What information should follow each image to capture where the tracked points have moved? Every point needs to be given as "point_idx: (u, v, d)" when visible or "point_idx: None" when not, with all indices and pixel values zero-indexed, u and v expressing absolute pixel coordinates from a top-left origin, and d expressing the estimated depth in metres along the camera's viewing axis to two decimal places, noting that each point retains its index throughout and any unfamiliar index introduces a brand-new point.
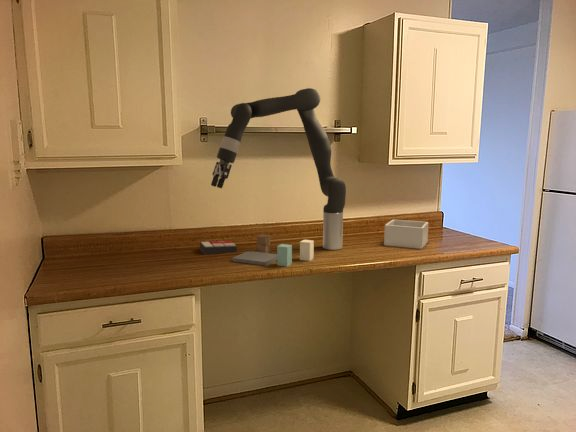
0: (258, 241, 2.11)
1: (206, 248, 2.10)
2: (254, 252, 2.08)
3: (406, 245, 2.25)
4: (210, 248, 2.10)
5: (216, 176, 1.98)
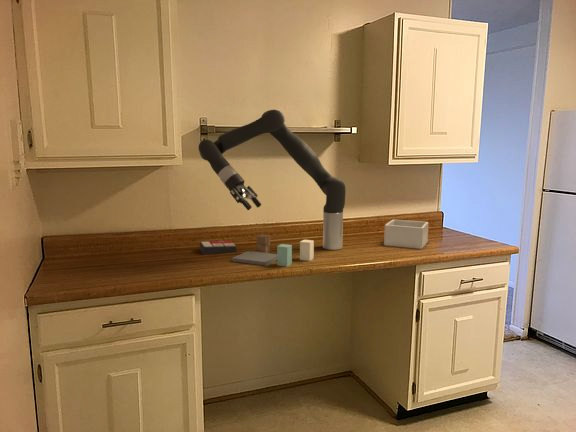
0: (258, 241, 2.11)
1: (205, 248, 2.10)
2: (254, 252, 2.08)
3: (406, 245, 2.25)
4: (209, 248, 2.10)
5: (253, 198, 2.00)
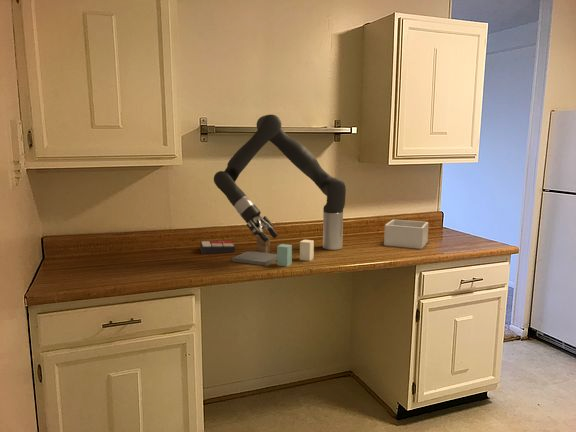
0: (258, 241, 2.11)
1: (204, 248, 2.10)
2: (254, 252, 2.08)
3: (406, 245, 2.25)
4: (208, 248, 2.11)
5: (269, 229, 1.99)
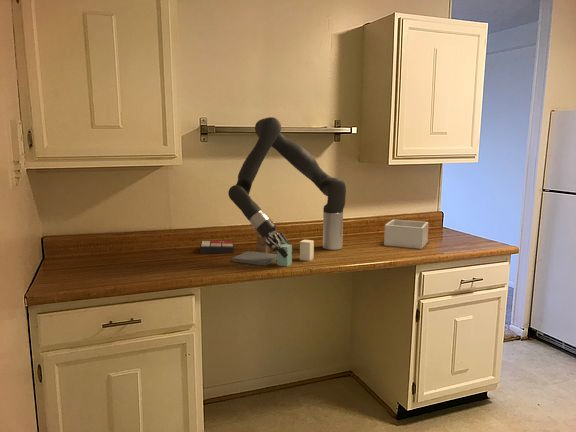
0: (258, 241, 2.11)
1: (202, 247, 2.11)
2: (254, 252, 2.08)
3: (406, 245, 2.25)
4: (206, 248, 2.11)
5: None
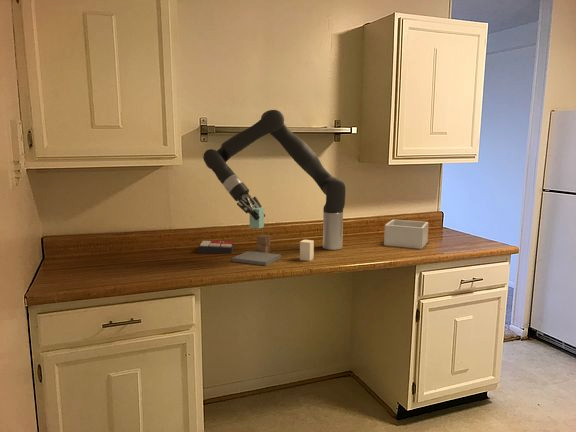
0: (258, 241, 2.11)
1: (200, 247, 2.11)
2: (254, 252, 2.08)
3: (406, 245, 2.25)
4: (204, 247, 2.11)
5: None
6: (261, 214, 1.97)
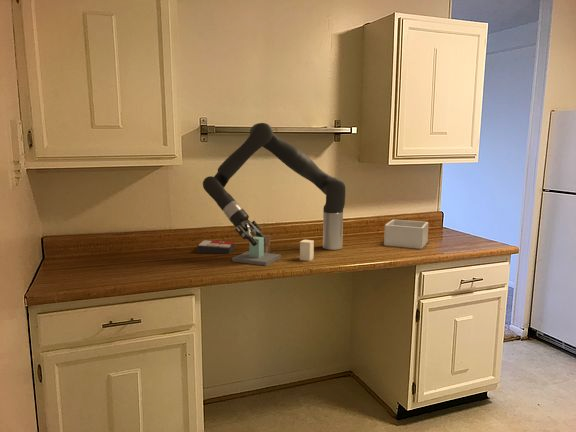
0: None
1: (198, 247, 2.12)
2: None
3: (406, 245, 2.25)
4: (202, 247, 2.12)
5: (257, 234, 2.04)
6: (261, 243, 1.99)
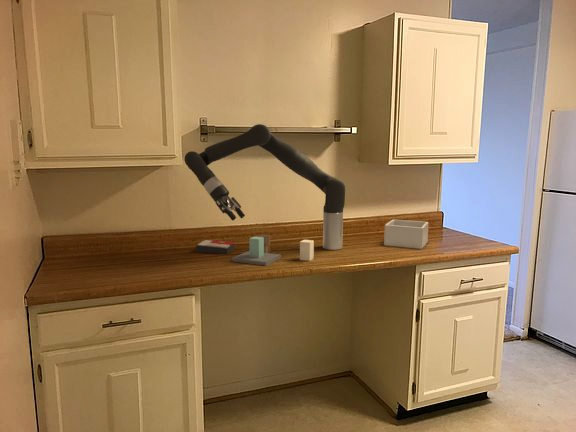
0: None
1: (197, 246, 2.13)
2: None
3: (406, 245, 2.25)
4: (201, 247, 2.13)
5: (237, 209, 2.07)
6: (261, 243, 1.99)
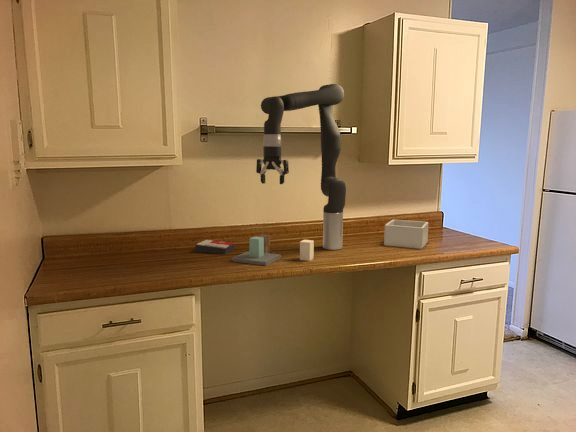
0: None
1: (197, 246, 2.14)
2: None
3: (406, 245, 2.25)
4: (200, 246, 2.13)
5: (263, 173, 2.02)
6: (261, 243, 1.99)
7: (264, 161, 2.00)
